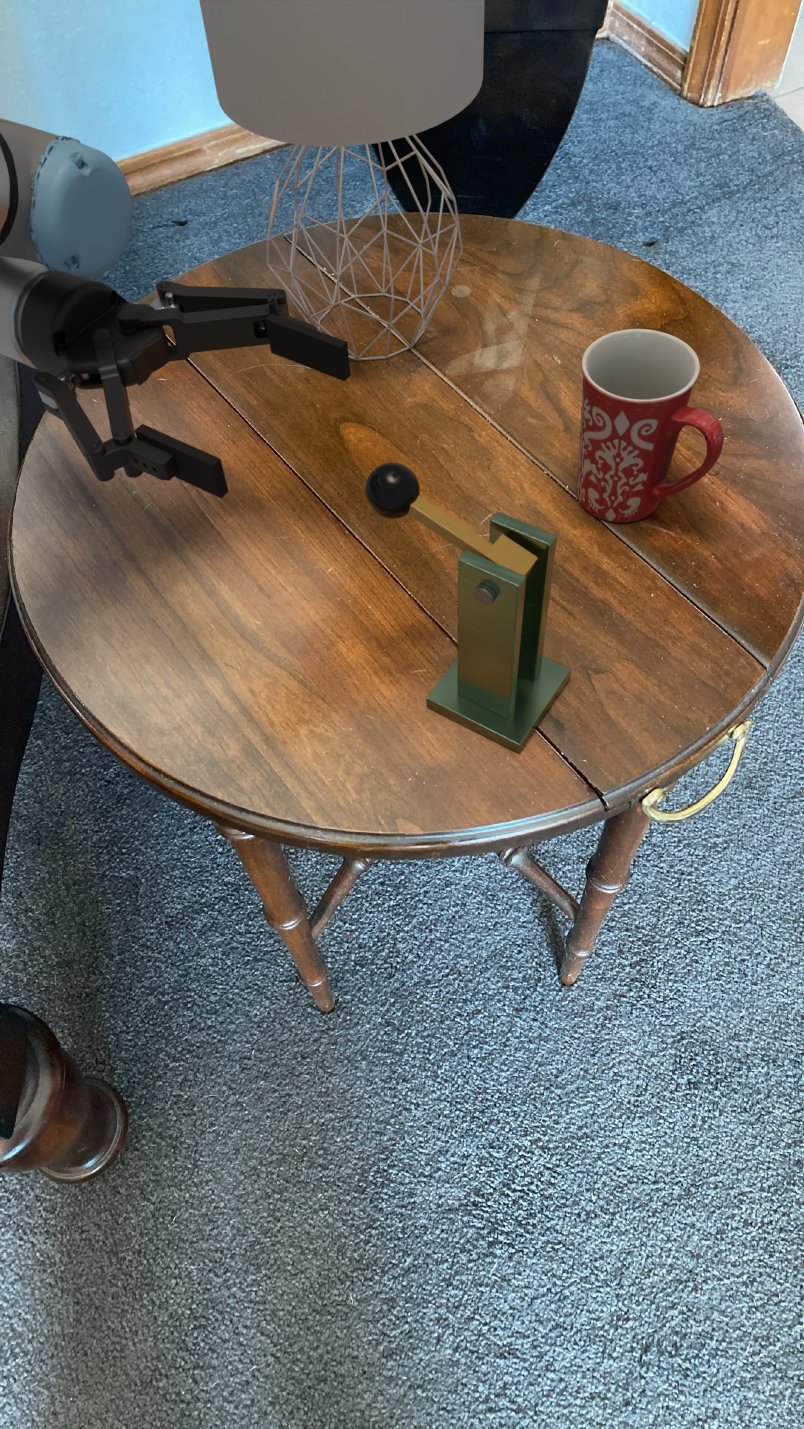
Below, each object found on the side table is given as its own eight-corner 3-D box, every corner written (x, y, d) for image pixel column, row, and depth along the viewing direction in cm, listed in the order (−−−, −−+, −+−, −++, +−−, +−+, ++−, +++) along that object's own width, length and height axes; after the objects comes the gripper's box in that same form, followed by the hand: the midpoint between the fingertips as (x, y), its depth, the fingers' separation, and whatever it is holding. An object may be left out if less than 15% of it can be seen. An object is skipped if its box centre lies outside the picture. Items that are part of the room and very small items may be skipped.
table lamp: (226, 312, 103) (117, -186, 70) (403, 242, 109) (379, -248, 76) (331, 425, 92) (260, -104, 59) (521, 339, 98) (554, -184, 65)
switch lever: (350, 509, 64) (358, 474, 61) (380, 477, 66) (389, 441, 63) (502, 611, 63) (518, 581, 60) (529, 576, 65) (546, 545, 62)
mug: (543, 494, 86) (556, 363, 75) (611, 445, 89) (634, 312, 78) (655, 570, 80) (688, 441, 69) (724, 515, 83) (765, 383, 72)
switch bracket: (426, 706, 74) (419, 563, 61) (479, 636, 77) (485, 486, 64) (518, 753, 71) (532, 614, 58) (570, 678, 74) (594, 530, 61)
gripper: (179, 283, 80) (394, 364, 73) (-51, 461, 69) (176, 577, 61) (156, 191, 74) (388, 269, 66) (-101, 370, 62) (144, 487, 55)
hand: (287, 417), depth 64 cm, fingers open, 13 cm apart
